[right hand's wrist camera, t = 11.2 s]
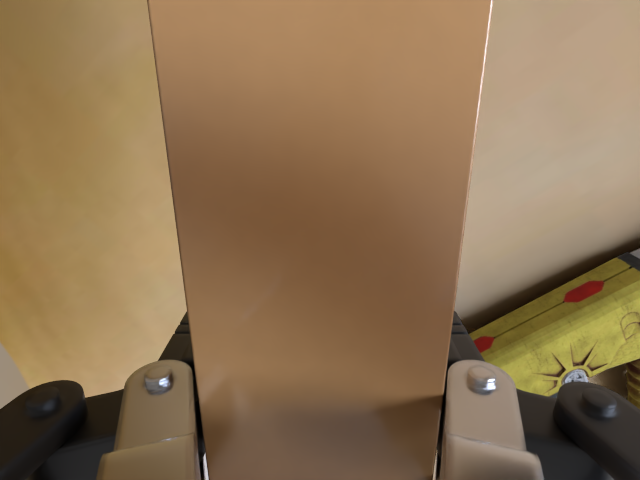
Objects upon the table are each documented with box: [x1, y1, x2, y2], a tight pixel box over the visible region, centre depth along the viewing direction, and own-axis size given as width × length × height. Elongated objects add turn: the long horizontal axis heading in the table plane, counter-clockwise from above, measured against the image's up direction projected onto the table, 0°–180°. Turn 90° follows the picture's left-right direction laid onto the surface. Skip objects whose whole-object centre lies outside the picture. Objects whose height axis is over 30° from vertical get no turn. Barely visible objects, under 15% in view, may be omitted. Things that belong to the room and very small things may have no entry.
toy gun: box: [469, 249, 640, 409], centre depth 32 cm, size 5×24×15 cm
